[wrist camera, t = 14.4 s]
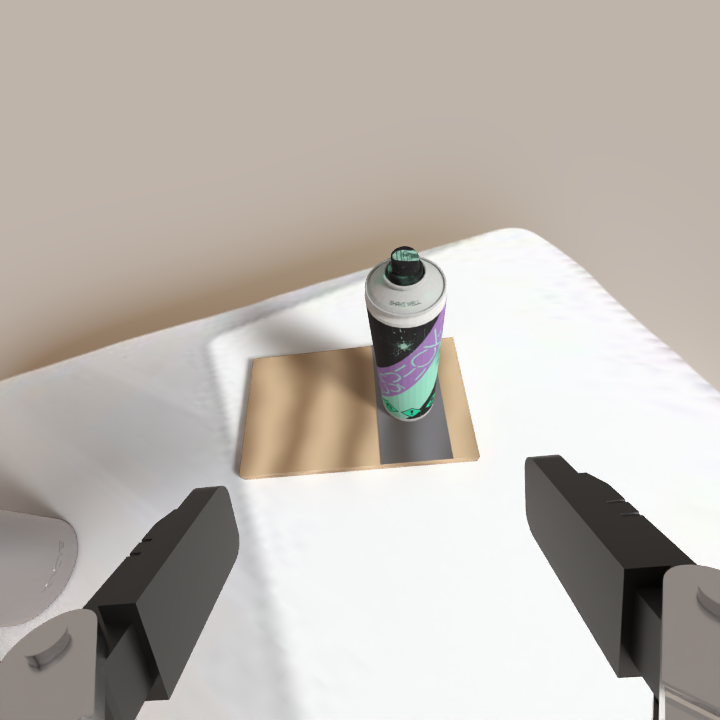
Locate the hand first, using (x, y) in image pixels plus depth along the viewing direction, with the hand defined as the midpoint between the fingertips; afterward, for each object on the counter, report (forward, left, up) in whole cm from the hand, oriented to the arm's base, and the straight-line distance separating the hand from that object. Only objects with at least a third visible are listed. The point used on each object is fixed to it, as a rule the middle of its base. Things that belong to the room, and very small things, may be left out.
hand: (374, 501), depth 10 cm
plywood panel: (-4, +15, -27) cm, 31 cm away
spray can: (+2, +14, -25) cm, 29 cm away
